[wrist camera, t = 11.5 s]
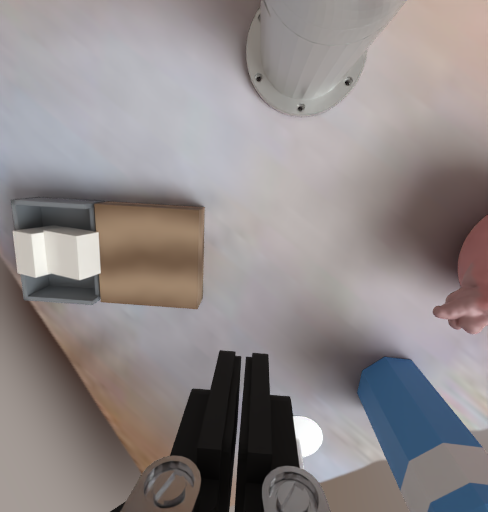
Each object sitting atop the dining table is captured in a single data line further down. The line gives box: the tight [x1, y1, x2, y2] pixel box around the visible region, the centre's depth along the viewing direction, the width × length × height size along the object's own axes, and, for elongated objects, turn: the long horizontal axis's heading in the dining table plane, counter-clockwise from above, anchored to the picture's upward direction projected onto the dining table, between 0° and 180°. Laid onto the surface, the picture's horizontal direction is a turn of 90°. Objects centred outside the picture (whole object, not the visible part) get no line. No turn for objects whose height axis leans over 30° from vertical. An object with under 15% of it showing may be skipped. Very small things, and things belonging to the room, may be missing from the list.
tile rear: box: [13, 225, 63, 278], centre depth 37 cm, size 5×5×3 cm
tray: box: [11, 197, 105, 305], centre depth 38 cm, size 12×8×4 cm
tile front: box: [43, 227, 101, 280], centre depth 36 cm, size 5×5×3 cm
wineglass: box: [293, 416, 323, 470], centre depth 36 cm, size 8×9×20 cm
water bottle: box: [357, 357, 488, 512], centre depth 31 cm, size 9×9×25 cm
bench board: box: [94, 201, 205, 309], centre depth 38 cm, size 12×12×4 cm
